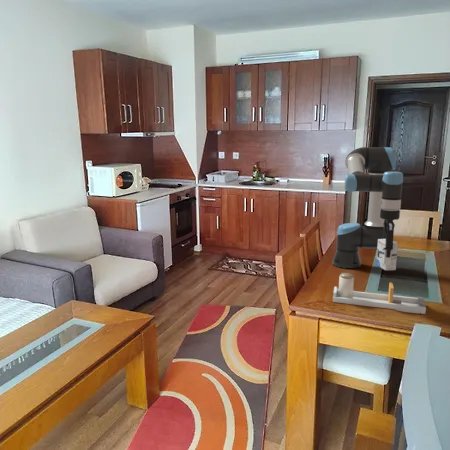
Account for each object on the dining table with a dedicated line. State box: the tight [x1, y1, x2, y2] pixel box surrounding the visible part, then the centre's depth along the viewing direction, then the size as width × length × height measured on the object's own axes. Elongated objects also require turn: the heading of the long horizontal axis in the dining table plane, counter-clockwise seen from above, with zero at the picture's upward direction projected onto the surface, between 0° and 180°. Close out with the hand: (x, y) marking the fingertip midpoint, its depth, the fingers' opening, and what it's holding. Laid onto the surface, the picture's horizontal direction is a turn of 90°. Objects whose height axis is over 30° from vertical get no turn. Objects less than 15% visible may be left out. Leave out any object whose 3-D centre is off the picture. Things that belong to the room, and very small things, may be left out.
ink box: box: [375, 239, 399, 271], centre depth 168 cm, size 8×5×12 cm, turn 6°
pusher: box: [387, 281, 401, 304], centre depth 166 cm, size 7×5×8 cm
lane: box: [332, 286, 427, 315], centre depth 168 cm, size 10×36×4 cm, turn 72°
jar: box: [338, 272, 355, 299], centre depth 172 cm, size 6×6×11 cm
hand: (385, 260), depth 169 cm, fingers closed on ink box, 9 cm apart
